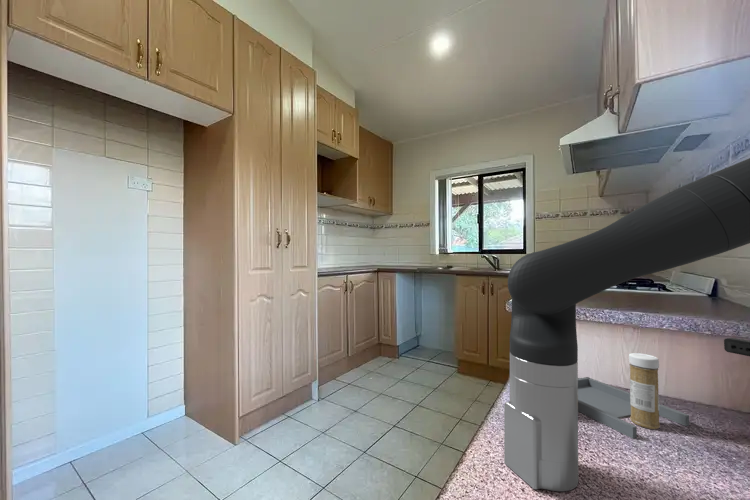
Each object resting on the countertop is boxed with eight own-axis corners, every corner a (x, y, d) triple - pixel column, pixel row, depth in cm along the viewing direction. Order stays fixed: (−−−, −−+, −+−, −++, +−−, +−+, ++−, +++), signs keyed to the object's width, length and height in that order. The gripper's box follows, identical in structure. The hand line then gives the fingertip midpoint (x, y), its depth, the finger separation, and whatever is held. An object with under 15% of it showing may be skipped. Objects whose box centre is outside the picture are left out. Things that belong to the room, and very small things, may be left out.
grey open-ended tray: (632, 438, 57) (632, 427, 57) (539, 391, 77) (539, 383, 77) (689, 425, 62) (689, 415, 62) (587, 384, 82) (587, 376, 82)
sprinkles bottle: (664, 426, 61) (663, 357, 62) (652, 432, 59) (651, 360, 60) (636, 416, 65) (635, 351, 66) (624, 421, 63) (624, 353, 64)
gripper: (960, 343, 37) (748, 318, 54) (913, 354, 33) (700, 323, 50) (964, 408, 37) (751, 363, 53) (918, 426, 33) (702, 371, 49)
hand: (726, 344), depth 51 cm, fingers closed
